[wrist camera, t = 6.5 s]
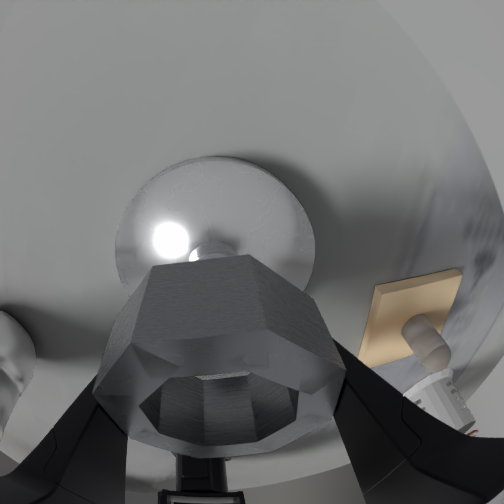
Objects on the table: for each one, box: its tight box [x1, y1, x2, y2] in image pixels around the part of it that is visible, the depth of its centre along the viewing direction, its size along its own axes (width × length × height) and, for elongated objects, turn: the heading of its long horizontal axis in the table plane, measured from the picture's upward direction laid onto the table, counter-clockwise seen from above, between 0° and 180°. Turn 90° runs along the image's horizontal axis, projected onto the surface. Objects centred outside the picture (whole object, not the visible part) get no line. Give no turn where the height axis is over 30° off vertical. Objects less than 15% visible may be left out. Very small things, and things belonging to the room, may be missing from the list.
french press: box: [403, 368, 478, 437], centre depth 18 cm, size 10×12×25 cm
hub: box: [115, 156, 315, 298], centre depth 13 cm, size 10×10×6 cm
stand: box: [358, 268, 463, 373], centre depth 18 cm, size 8×8×6 cm
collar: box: [92, 254, 346, 458], centre depth 8 cm, size 7×7×3 cm
